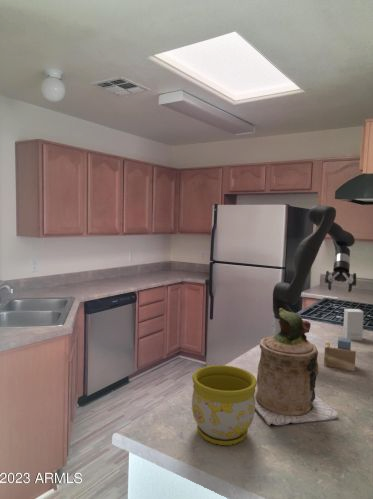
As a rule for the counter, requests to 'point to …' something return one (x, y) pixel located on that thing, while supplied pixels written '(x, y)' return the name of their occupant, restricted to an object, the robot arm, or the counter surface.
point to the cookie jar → (289, 376)
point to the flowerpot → (223, 403)
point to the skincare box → (353, 324)
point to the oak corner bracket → (339, 357)
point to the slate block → (344, 343)
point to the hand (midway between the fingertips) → (339, 290)
